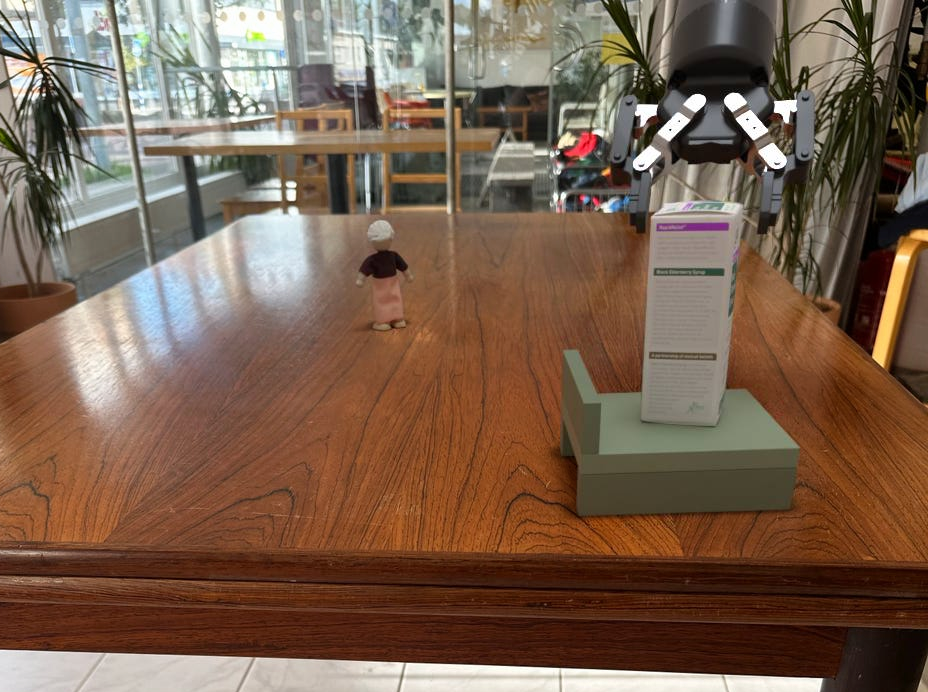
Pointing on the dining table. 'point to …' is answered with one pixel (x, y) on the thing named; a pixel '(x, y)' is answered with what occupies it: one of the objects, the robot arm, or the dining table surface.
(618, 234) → the dining table surface
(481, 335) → the dining table surface
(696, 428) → the toy bed
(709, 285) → the syrup box
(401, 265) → the grandmother figurine
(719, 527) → the dining table surface
